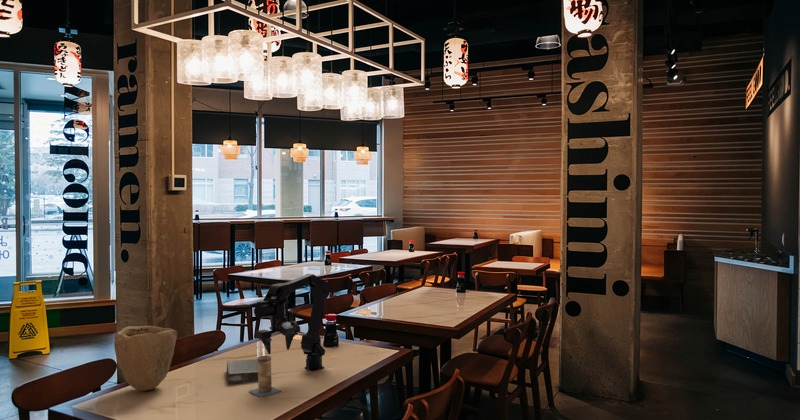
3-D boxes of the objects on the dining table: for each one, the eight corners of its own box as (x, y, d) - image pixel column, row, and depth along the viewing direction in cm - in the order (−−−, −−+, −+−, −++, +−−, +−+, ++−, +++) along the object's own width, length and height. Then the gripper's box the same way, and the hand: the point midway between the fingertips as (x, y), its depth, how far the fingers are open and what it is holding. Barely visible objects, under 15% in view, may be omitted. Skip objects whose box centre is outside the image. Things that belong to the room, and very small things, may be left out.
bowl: (189, 386, 218) (188, 325, 218) (137, 404, 199) (136, 337, 199) (156, 378, 230) (155, 320, 230) (104, 393, 212) (103, 330, 211)
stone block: (228, 385, 220) (228, 373, 220) (226, 372, 239) (226, 360, 239) (262, 381, 225) (262, 369, 225) (258, 368, 244) (257, 357, 244)
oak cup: (270, 387, 214) (269, 354, 214) (273, 391, 210) (272, 357, 210) (257, 389, 212) (256, 356, 212) (260, 393, 207) (259, 359, 207)
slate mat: (268, 386, 217) (268, 385, 217) (281, 391, 211) (281, 390, 211) (248, 392, 210) (248, 391, 210) (261, 397, 204) (261, 396, 204)
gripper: (269, 321, 212) (270, 360, 212) (307, 313, 226) (308, 350, 226) (254, 317, 220) (255, 355, 220) (292, 310, 234) (292, 346, 234)
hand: (278, 351), depth 225 cm, fingers open, 9 cm apart
